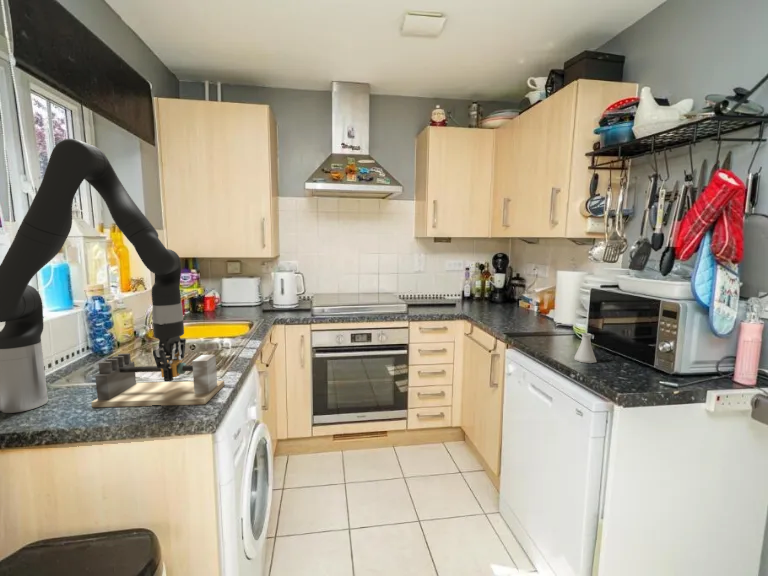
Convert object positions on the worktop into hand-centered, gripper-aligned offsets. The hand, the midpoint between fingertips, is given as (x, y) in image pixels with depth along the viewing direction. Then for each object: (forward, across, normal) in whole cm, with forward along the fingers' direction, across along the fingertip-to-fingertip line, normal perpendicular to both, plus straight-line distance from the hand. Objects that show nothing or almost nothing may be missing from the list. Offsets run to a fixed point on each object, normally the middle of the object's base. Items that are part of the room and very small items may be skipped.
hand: (172, 377), depth 108 cm
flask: (+6, -23, +136) cm, 138 cm away
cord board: (+5, 0, -3) cm, 6 cm away
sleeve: (-1, 0, 0) cm, 1 cm away
